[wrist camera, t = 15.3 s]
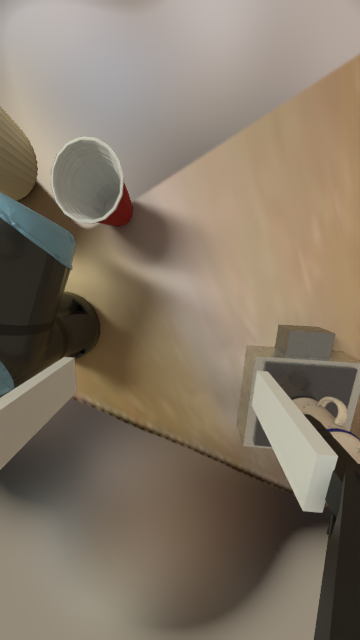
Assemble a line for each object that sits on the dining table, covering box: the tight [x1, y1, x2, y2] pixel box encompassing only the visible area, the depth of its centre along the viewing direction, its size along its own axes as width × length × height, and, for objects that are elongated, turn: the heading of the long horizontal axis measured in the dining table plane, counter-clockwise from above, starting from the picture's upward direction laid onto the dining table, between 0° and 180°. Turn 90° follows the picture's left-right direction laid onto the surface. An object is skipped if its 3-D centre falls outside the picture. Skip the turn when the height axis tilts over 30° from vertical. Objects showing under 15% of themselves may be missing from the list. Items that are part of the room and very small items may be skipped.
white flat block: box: [237, 325, 360, 449], centre depth 40 cm, size 20×25×7 cm
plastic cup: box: [51, 137, 133, 226], centre depth 32 cm, size 11×11×12 cm
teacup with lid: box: [292, 397, 360, 464], centre depth 32 cm, size 12×9×12 cm
